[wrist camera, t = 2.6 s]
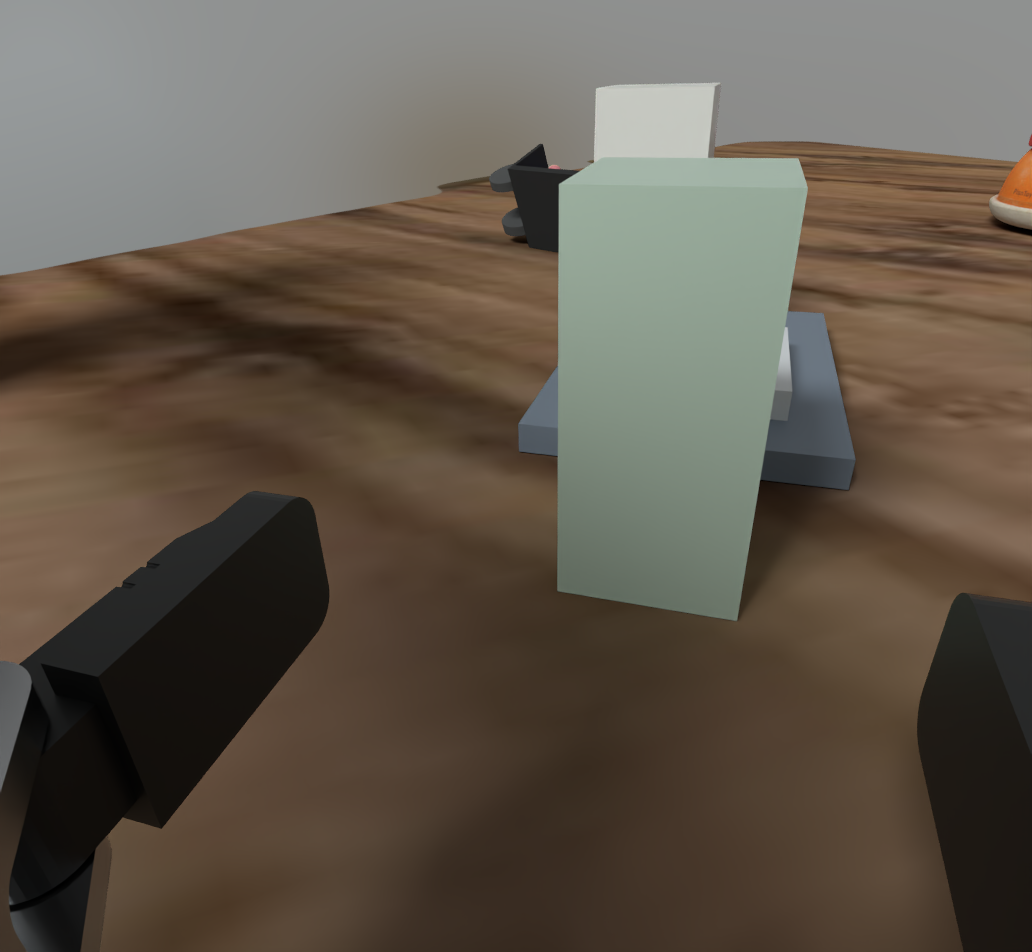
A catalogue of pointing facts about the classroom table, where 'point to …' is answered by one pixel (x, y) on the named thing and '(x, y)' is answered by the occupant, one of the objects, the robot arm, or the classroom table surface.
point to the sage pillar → (669, 371)
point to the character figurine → (533, 198)
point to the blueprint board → (793, 422)
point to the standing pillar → (656, 120)
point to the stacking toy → (1016, 195)
